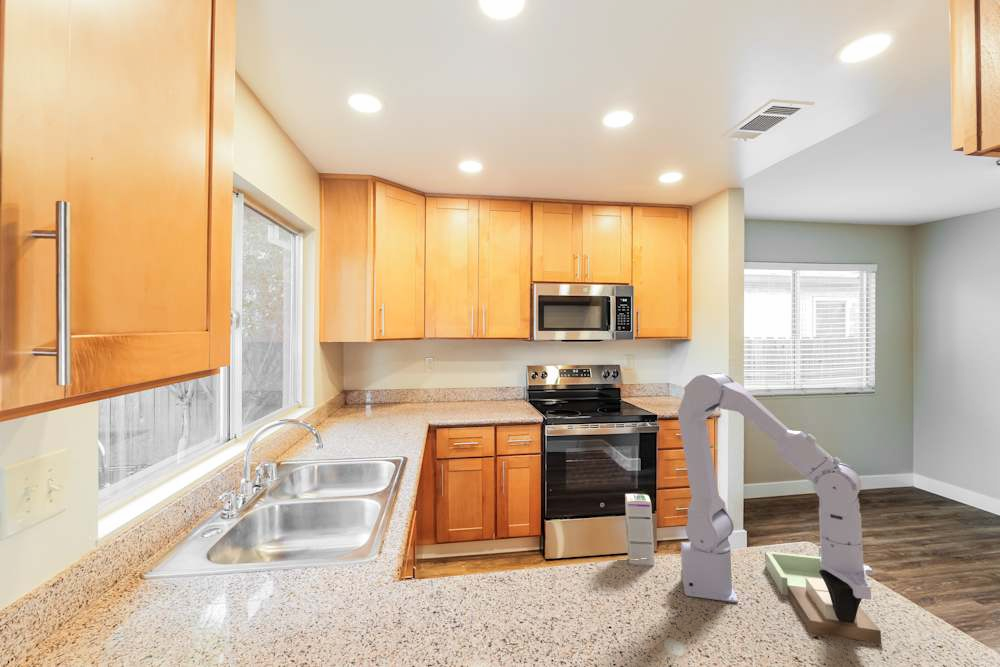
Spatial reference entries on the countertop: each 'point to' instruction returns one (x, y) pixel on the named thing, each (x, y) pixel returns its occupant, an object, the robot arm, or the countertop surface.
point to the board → (821, 625)
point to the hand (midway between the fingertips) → (845, 620)
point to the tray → (792, 569)
